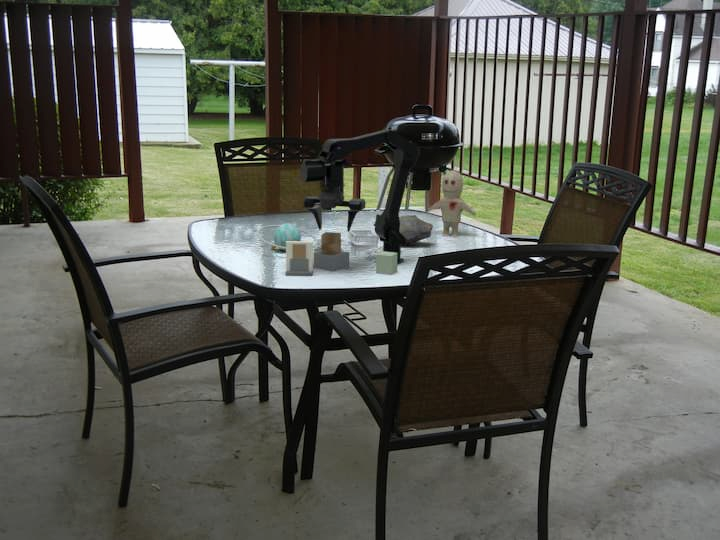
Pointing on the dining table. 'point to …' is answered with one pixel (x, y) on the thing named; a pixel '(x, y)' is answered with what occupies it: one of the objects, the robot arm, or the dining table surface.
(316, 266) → the slate base
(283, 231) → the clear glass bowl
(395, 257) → the sage block
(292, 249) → the plaque
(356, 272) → the dining table surface
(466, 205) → the toy
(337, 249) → the walnut block
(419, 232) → the stone
